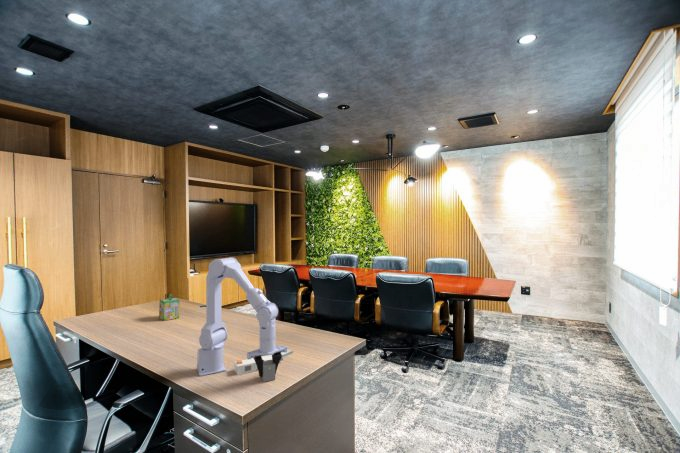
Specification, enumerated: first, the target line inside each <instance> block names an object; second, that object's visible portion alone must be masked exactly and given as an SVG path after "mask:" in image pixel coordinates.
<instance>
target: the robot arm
mask: <svg viewBox="0 0 680 453" xmlns="http://www.w3.org/2000/svg"><path fill="white" fill-rule="evenodd" d="M226 278H227V279H233V280H234V281H235V282H236V284H237V285H238V286H239V287H240V288H241V289H242V291H244V293H245V294H246V296H245V299H246V300H247V302H248V303H249V304H250V306H251V307H252V308H253V309H254V311H255V312H256V314H255V316H256V319H257V321H258V325H259V348H257V349H255V350H252V351H248V352H246V359H248V360H249V359H251V358H254V360H255V362H256V365H257V368H258V369H257V371H258V377H259V378H260V377H262V376H263V371H262V368H263V360H262V356H267V355H272V361H273V362H274V363H275V375H276V374H277V369H278V367H279V364H280V362H281V361H282V360H281V358H282V354H281V352H287V349H288V346H287V345H276V336H277V335H276V332H277V331H276V328H277V327H276V319H277V316H278V315H279V308H278V306H277V304H276V303H274V302H271V301H270V300H268V298H267V297H266V296H265V295H264V291H263V290H262V289H260V288H258V287H254V286H253V284H252V283H251V281H250V280H249V278H248V277H247V275H246V274H245V272H244V271H243V269H242V265H241V263H240V262H239V261H238V260H237V258H235V257H232V256H229V257H225V258H215V259H213V260H212V261H211V262H210V263H209V264H208V271H207V274H206V278H205V280H206V282H205V283H206V286H205V287H206V288H205V289H206V290H205V291H206V295H205V296H206V297H205V298H206V303H205V304H206V307H205V308H206V310H205V311H206V313H205V314H206V318H205V319H206V321H205V324H204V325H203V326H202V327H201V330H200V335H199V338H198V341H199V345H200V348H198V349H197V354H196V355H197V364H196V369H197V371H198V375H199V377H202V376H207V375H210V374H216V373H220V372H225V371H227V369H226V367H225V365H224V345H225V341H226V340H227V339H228V337H229V336H228V331H227V328H226V323H225V322H223V320H222V281H224V279H226ZM280 360H281V361H280Z"/></svg>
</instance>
